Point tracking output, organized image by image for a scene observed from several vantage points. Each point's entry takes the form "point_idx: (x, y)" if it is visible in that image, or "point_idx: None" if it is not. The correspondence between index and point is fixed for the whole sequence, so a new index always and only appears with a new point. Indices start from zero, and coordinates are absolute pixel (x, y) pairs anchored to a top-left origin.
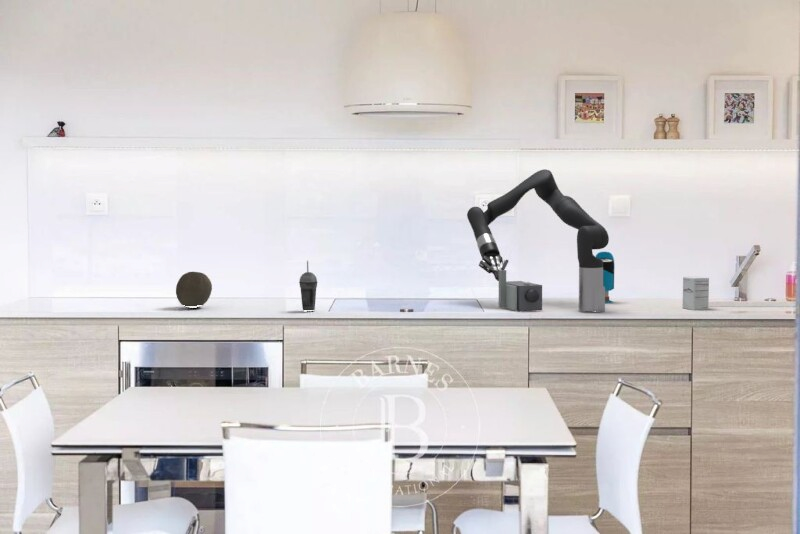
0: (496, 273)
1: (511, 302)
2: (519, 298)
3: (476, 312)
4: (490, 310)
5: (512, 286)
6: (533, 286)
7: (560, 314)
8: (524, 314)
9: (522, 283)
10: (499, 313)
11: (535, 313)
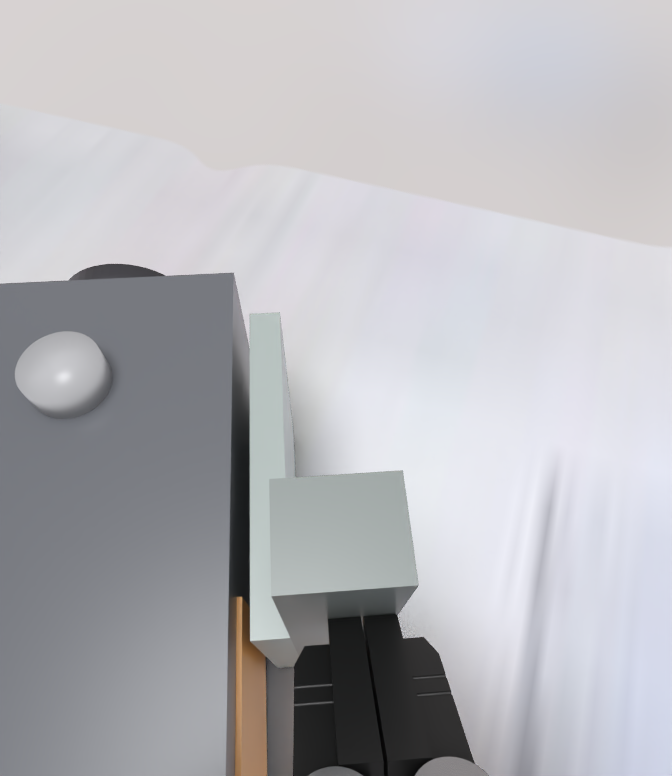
0: (428, 721)
1: (293, 468)
2: (249, 358)
3: (617, 454)
4: (474, 556)
5: (281, 367)
6: (62, 289)
7: (81, 212)
8: (298, 265)
9: (11, 569)
10: (449, 352)
11: None
